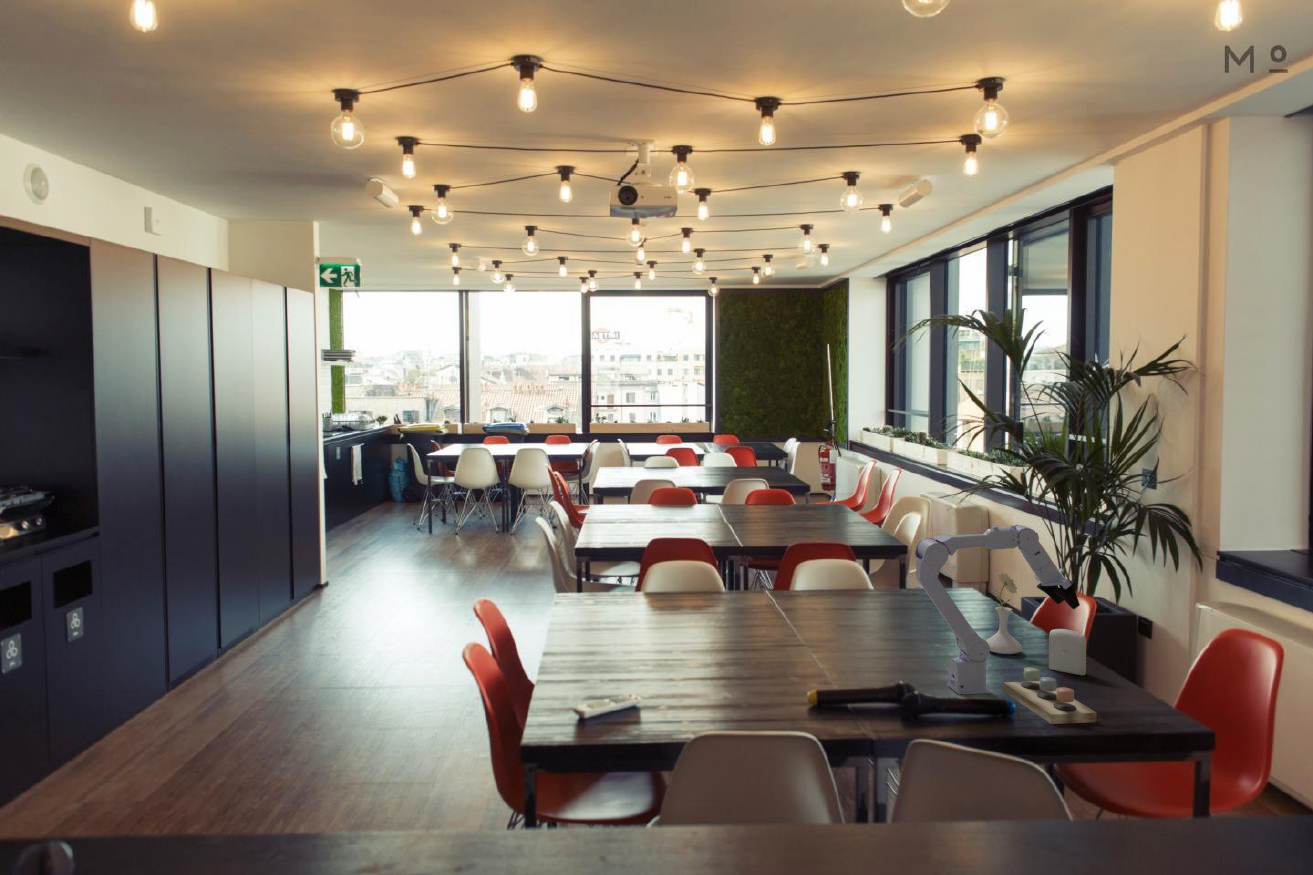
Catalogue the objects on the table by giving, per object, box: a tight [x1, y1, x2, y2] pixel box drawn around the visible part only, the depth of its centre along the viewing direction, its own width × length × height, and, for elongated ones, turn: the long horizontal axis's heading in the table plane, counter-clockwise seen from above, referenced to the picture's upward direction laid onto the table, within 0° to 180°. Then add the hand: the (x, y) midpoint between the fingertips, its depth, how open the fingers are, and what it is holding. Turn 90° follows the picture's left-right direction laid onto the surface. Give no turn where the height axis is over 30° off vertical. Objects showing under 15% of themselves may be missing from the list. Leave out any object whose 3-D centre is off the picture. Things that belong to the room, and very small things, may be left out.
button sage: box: [1023, 667, 1041, 681], centre depth 240 cm, size 4×4×2 cm
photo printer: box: [1048, 628, 1087, 676], centre depth 260 cm, size 10×4×12 cm, turn 47°
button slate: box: [1039, 676, 1057, 691], centre depth 232 cm, size 4×4×2 cm
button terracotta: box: [1056, 686, 1075, 702], centre depth 224 cm, size 4×4×2 cm
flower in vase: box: [985, 571, 1023, 655], centre depth 280 cm, size 13×11×25 cm
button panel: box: [1002, 680, 1098, 725], centre depth 233 cm, size 12×24×3 cm, turn 6°
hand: (1068, 604), depth 243 cm, fingers open, 7 cm apart
